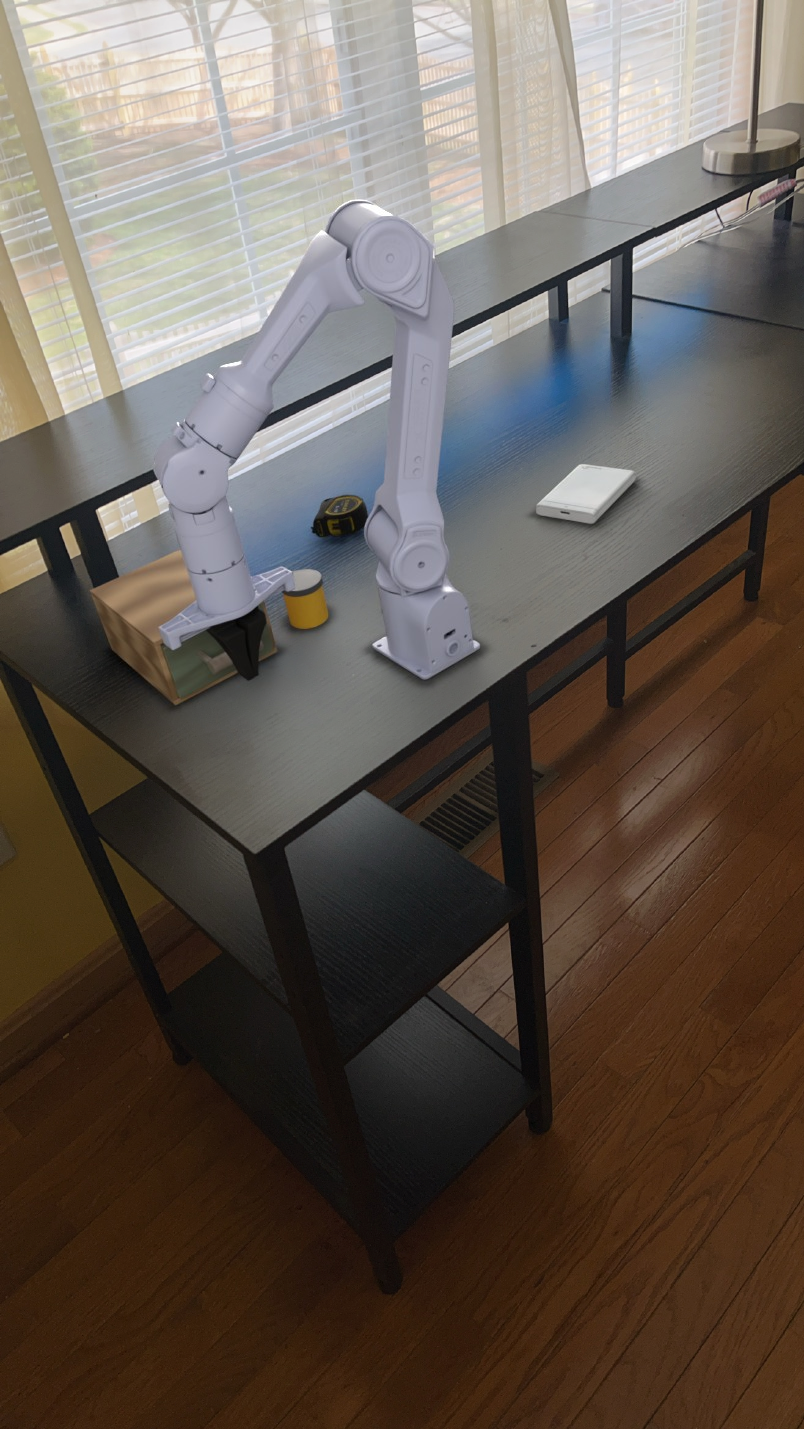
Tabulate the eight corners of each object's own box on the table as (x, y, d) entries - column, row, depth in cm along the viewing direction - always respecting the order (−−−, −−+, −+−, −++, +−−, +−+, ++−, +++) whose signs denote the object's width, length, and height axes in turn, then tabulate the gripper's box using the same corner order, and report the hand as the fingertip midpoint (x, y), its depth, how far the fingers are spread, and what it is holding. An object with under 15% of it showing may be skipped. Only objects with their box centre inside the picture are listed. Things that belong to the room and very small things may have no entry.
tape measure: (326, 518, 141) (320, 493, 139) (374, 516, 139) (370, 491, 137) (314, 543, 136) (308, 517, 133) (364, 541, 134) (359, 515, 132)
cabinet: (277, 651, 116) (261, 589, 111) (175, 705, 111) (153, 642, 106) (208, 603, 127) (190, 544, 122) (111, 650, 122) (89, 590, 117)
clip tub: (303, 634, 118) (294, 595, 115) (280, 619, 122) (271, 581, 118) (338, 616, 120) (329, 578, 117) (314, 602, 124) (306, 564, 120)
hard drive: (578, 463, 140) (535, 503, 132) (635, 470, 136) (594, 512, 128) (579, 474, 141) (536, 515, 133) (635, 482, 137) (594, 524, 129)
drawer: (295, 664, 112) (282, 613, 108) (199, 715, 107) (182, 664, 103) (208, 603, 125) (194, 556, 121) (119, 647, 120) (102, 598, 116)
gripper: (256, 519, 105) (285, 630, 113) (130, 577, 99) (170, 691, 107) (294, 538, 100) (321, 653, 108) (163, 601, 94) (203, 718, 102)
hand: (248, 674), depth 107 cm, fingers closed, pressing on drawer
